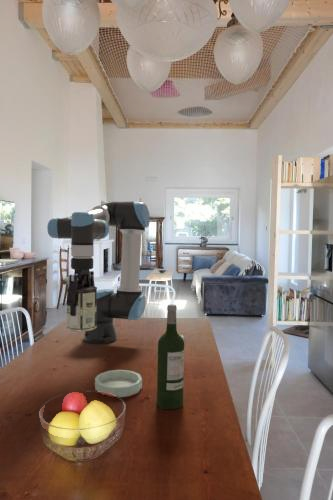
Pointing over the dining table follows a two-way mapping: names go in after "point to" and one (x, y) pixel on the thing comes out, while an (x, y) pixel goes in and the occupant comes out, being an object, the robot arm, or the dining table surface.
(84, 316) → the coffee can
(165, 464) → the dining table surface
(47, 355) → the dining table surface
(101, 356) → the dining table surface
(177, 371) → the wine bottle
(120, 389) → the ring tray
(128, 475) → the dining table surface
